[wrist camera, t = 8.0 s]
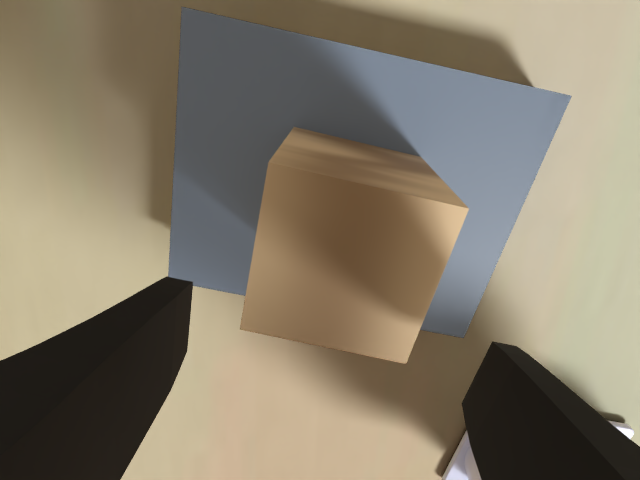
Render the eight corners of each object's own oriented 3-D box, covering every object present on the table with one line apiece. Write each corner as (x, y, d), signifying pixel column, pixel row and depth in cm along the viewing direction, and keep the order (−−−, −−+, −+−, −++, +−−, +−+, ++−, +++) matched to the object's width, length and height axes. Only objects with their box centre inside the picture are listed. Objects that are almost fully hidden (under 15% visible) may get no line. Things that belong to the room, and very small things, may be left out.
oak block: (421, 156, 15) (469, 208, 10) (383, 268, 17) (406, 364, 12) (294, 126, 15) (268, 162, 9) (271, 243, 17) (239, 329, 11)
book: (533, 90, 17) (571, 96, 14) (447, 302, 21) (463, 338, 18) (208, 16, 16) (181, 6, 13) (190, 251, 20) (168, 280, 18)
